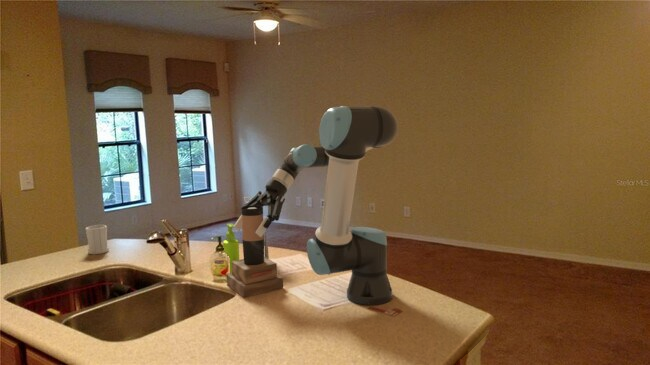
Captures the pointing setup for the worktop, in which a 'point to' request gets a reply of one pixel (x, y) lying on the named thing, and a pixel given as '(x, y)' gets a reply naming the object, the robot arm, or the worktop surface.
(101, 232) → the cup
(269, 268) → the stack of brown boxes
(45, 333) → the worktop surface
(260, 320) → the worktop surface
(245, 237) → the travel mug
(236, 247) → the soap dispenser
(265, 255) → the white twisted vase
